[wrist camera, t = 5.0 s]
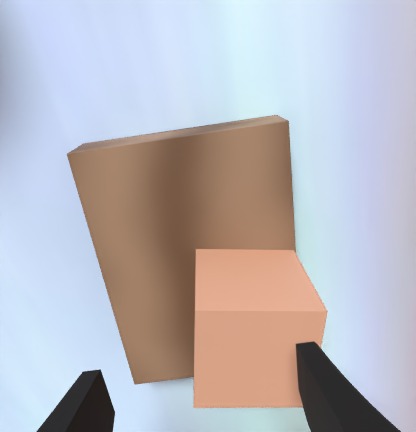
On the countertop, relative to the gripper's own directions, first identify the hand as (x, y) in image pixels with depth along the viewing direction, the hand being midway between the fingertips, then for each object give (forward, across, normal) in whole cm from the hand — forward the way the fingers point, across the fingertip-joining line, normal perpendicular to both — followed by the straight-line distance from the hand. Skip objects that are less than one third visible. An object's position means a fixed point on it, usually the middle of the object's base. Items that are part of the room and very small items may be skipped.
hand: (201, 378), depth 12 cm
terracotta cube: (+7, -2, +2) cm, 7 cm away
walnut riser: (+9, 0, 0) cm, 9 cm away
